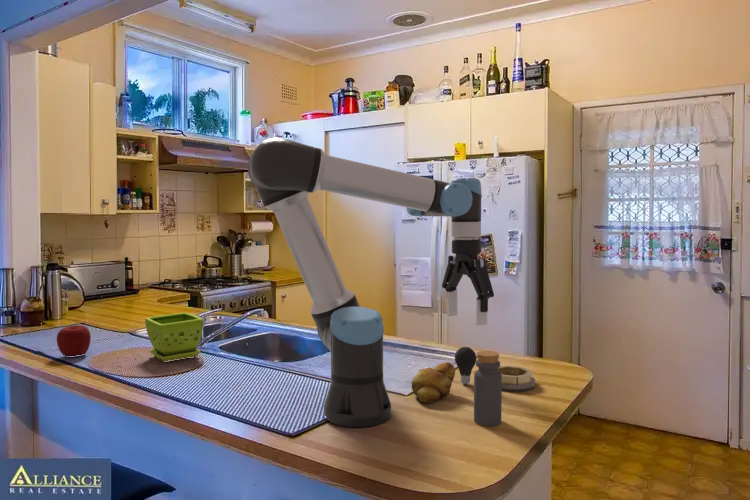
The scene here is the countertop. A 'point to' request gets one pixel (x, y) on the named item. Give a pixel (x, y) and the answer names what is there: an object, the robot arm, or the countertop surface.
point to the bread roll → (433, 382)
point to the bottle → (487, 389)
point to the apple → (73, 340)
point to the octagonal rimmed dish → (516, 379)
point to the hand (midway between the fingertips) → (466, 320)
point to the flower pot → (174, 335)
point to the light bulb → (465, 363)
